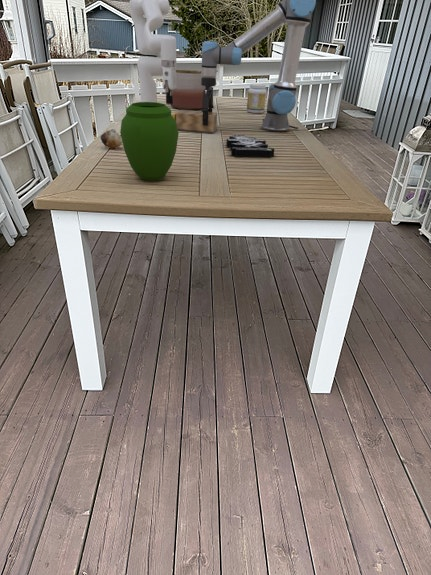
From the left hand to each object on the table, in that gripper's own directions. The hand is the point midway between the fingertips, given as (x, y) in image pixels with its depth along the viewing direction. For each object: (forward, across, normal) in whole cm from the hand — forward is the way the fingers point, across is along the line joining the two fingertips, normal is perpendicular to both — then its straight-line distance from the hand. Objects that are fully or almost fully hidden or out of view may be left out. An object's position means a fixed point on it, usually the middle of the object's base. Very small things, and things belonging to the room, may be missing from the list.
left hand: (169, 103), depth 216 cm
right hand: (+8, 0, -21) cm, 22 cm away
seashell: (+12, -52, +11) cm, 55 cm away
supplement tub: (+12, +74, -40) cm, 85 cm away
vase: (+12, -88, -18) cm, 91 cm away
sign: (+12, -32, -46) cm, 57 cm away
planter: (+12, +71, +6) cm, 72 cm away
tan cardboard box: (+12, 0, -15) cm, 19 cm away
